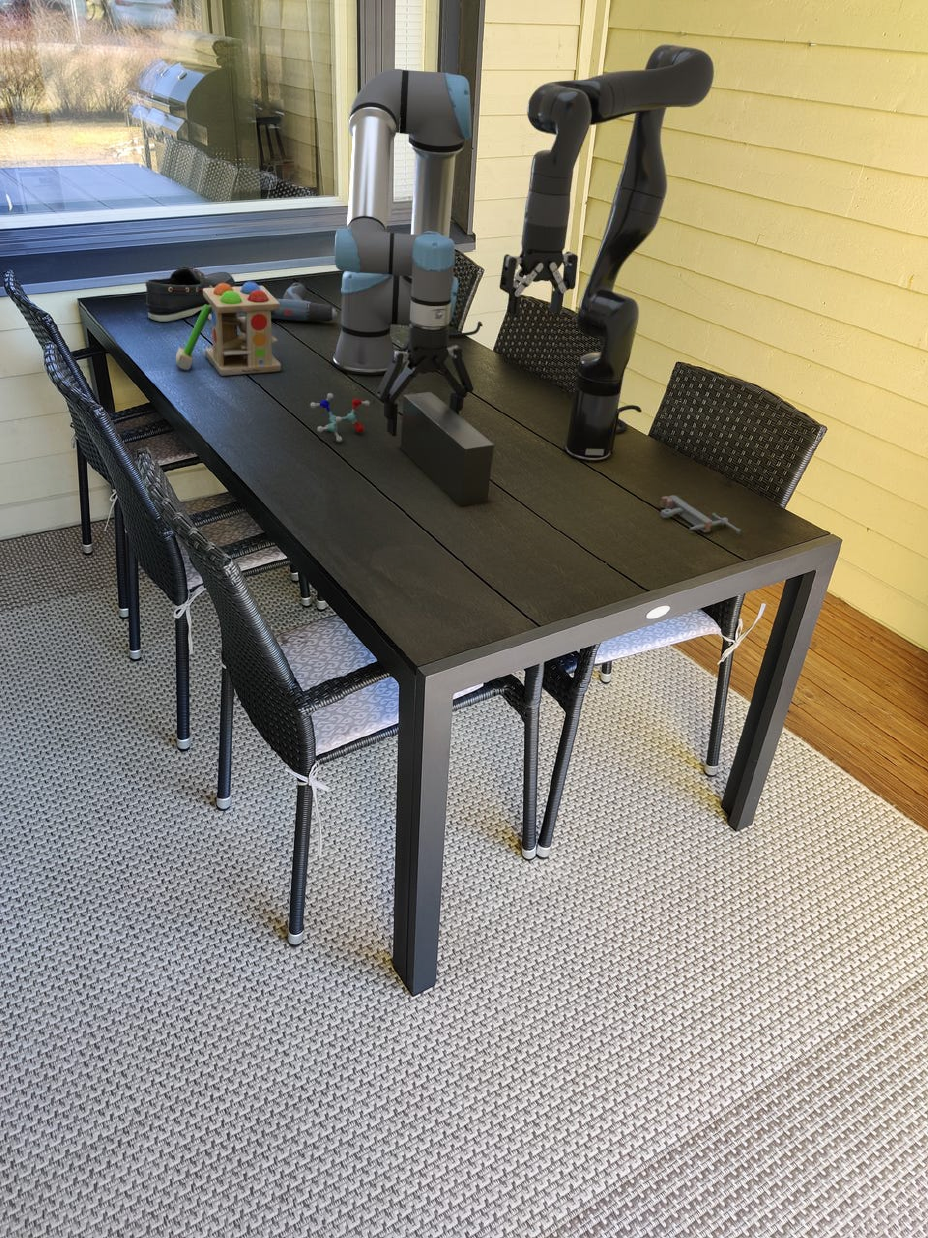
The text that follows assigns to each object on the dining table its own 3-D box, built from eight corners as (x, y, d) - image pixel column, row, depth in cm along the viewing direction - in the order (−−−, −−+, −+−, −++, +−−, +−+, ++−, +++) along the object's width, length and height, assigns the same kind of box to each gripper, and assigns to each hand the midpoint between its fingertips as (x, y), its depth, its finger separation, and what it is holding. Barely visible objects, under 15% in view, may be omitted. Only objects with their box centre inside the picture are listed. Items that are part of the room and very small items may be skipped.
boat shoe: (254, 300, 273) (252, 262, 268) (165, 323, 249) (160, 282, 244) (221, 292, 279) (218, 254, 273) (130, 314, 255) (125, 273, 250)
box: (400, 448, 200) (403, 394, 194) (426, 445, 203) (430, 391, 196) (459, 506, 182) (465, 448, 175) (487, 501, 184) (494, 444, 178)
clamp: (649, 498, 185) (689, 490, 190) (647, 509, 187) (687, 500, 191) (702, 536, 175) (743, 526, 179) (699, 546, 176) (740, 536, 181)
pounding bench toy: (183, 379, 220) (176, 299, 210) (169, 357, 231) (162, 280, 221) (282, 371, 230) (280, 294, 220) (264, 350, 240) (262, 276, 230)
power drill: (344, 304, 276) (335, 327, 259) (277, 298, 275) (264, 321, 258) (344, 285, 273) (335, 306, 256) (277, 279, 272) (264, 300, 255)
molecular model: (357, 434, 195) (340, 385, 194) (317, 449, 199) (300, 401, 197) (380, 430, 206) (364, 384, 204) (342, 444, 209) (326, 399, 208)
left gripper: (376, 334, 176) (372, 444, 188) (496, 325, 187) (486, 429, 198) (360, 321, 181) (357, 429, 193) (478, 313, 192) (468, 415, 204)
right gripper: (521, 225, 160) (510, 324, 169) (593, 223, 166) (579, 318, 175) (498, 214, 166) (489, 310, 175) (569, 212, 172) (556, 305, 181)
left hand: (422, 429), depth 196 cm, fingers open, 13 cm apart
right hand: (534, 314), depth 175 cm, fingers open, 8 cm apart
